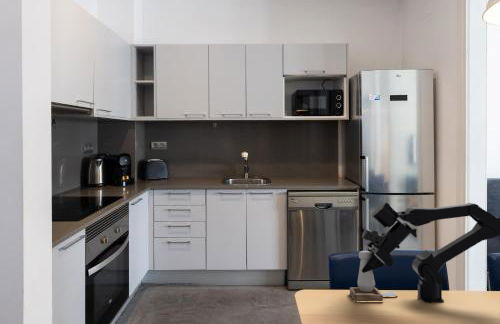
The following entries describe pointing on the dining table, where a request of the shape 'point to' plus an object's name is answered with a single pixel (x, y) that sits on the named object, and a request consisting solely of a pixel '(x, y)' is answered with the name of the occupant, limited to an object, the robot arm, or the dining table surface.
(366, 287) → the salt shaker
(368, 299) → the walnut socket
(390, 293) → the grey rectangular slab
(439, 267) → the robot arm
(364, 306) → the dining table surface
